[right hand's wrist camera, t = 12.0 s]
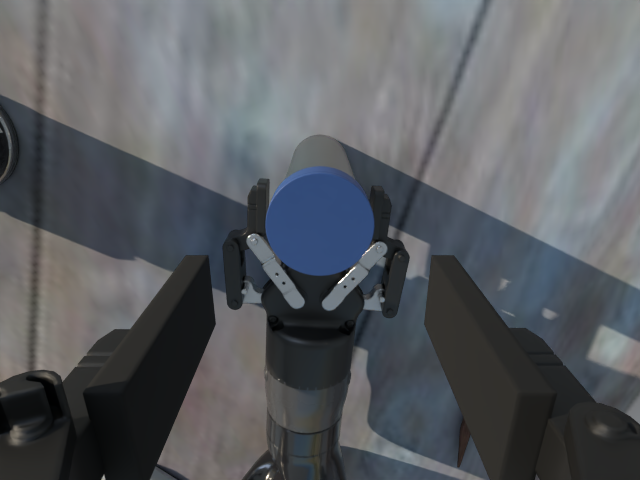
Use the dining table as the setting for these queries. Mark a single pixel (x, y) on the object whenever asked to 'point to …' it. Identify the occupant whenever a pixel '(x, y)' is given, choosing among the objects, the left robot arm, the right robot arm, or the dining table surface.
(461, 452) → the fork
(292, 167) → the jar
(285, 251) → the lid
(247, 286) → the left robot arm
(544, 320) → the dining table surface
